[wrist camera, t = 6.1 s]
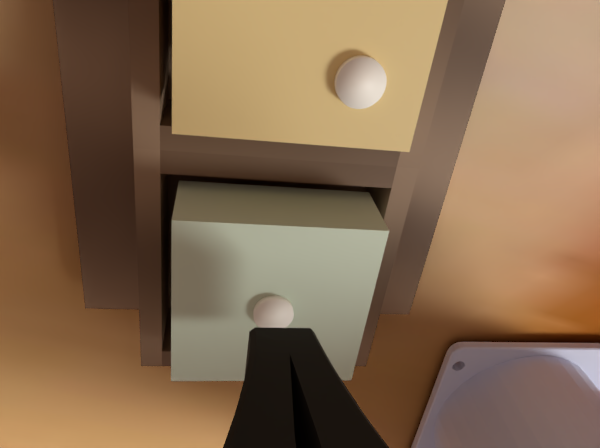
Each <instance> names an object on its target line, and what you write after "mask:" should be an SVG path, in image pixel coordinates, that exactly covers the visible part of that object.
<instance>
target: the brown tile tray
mask: <svg viewBox="0 0 600 448" xmlns="http://www.w3.org/2000/svg"><path fill="white" fill-rule="evenodd" d="M504 4H505V0H448V3H447V7H446V11H445V14H444V18H443V22H442V26H441V30H440V34H439V38H438V42H437V46H436V50H435V54H434V58H433V62H432V65H431V69H430V73H429V77H428V81H427V85H426V89H425V93H424V97H423V101H422V105H421V109H420V113H419V117H418V120H417V124H416V128H415V132H414V136H413V140H412V144H411V148H410V152H401V151H388V150H375V149H362V148H349V147H336V146H323V145H310V144H297V143H284V142H271V141H258V140H245V139H232V138H219V137H207V136H194V135H181V134H172V0H53V6H54V16H55V25H56V34H57V44H58V53H59V63H60V72H61V82H62V91H63V101H64V110H65V120H66V129H67V139H68V148H69V158H70V167H71V177H72V186H73V196H74V205H75V215H76V224H77V234H78V243H79V253H80V262H81V271H82V281H83V290H84V300H85V308H97V309H139V317H140V343H141V366H171V227H172V215H173V210H174V204H175V199H176V194H177V188H178V183H179V181H196V182H212V183H228V184H244V185H260V186H276V187H292V188H308V189H325V190H341V191H357V192H369V193H370V195H371V197H372V199H373V201H374V203H375V205H376V207H377V208H378V210H379V212H380V214H381V216H382V218H383V220H384V222H385V224H386V226H387V227H388V229H389V234H388V238H387V242H386V246H385V250H384V254H383V258H382V262H381V266H380V270H379V274H378V277H377V281H376V285H375V289H374V293H373V297H372V301H371V305H370V309H369V313H368V317H367V321H366V325H365V329H364V332H363V336H362V340H361V344H360V348H359V352H358V356H357V360H356V364H355V366H366V364H367V360H368V356H369V353H370V349H371V345H372V342H373V338H374V334H375V330H376V327H377V323H378V319H379V316H380V314H409V313H410V310H411V306H412V303H413V300H414V297H415V293H416V290H417V287H418V284H419V280H420V277H421V274H422V271H423V267H424V264H425V261H426V258H427V254H428V251H429V248H430V245H431V241H432V238H433V235H434V232H435V228H436V225H437V222H438V218H439V215H440V212H441V209H442V205H443V202H444V199H445V196H446V192H447V189H448V186H449V183H450V179H451V176H452V173H453V170H454V166H455V163H456V160H457V157H458V153H459V150H460V147H461V144H462V140H463V137H464V134H465V131H466V127H467V124H468V121H469V118H470V114H471V111H472V108H473V104H474V101H475V98H476V95H477V91H478V88H479V85H480V82H481V78H482V75H483V72H484V69H485V65H486V62H487V59H488V56H489V52H490V49H491V46H492V43H493V39H494V36H495V33H496V30H497V26H498V23H499V20H500V17H501V13H502V10H503V7H504Z"/></svg>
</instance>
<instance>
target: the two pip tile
mask: <svg viewBox="0 0 600 448" xmlns="http://www.w3.org/2000/svg"><path fill="white" fill-rule="evenodd" d="M447 3H448V0H172V134H181V135H194V136H207V137H219V138H232V139H245V140H258V141H271V142H284V143H297V144H310V145H323V146H336V147H349V148H362V149H375V150H388V151H401V152H410V148H411V144H412V140H413V136H414V132H415V128H416V124H417V120H418V117H419V113H420V109H421V105H422V101H423V97H424V93H425V89H426V85H427V81H428V77H429V73H430V69H431V65H432V62H433V58H434V54H435V50H436V46H437V42H438V38H439V34H440V30H441V26H442V22H443V18H444V14H445V11H446V7H447Z"/></svg>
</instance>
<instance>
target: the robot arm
mask: <svg viewBox="0 0 600 448" xmlns="http://www.w3.org/2000/svg"><path fill="white" fill-rule="evenodd" d="M456 362H457V363H456ZM223 448H389V447H388V446H387V445H386V443H385V442H384V441H383V439H382V438H381V437H380V435H379V434H378V433H377V431H376V430H375V429H374V427H373V426H372V425H371V423H370V422H369V420H368V419H367V418H366V416H365V415H364V413H363V412H362V410H361V409H360V407H359V406H358V404H357V403H356V401H355V400H354V398H353V397H352V395H351V394H350V392H349V391H348V389H347V388H346V386H345V385H344V383H343V382H342V380H341V378H340V377H339V375H338V374H337V372H336V370H335V369H334V367H333V365H332V364H331V362H330V360H329V358H328V357H327V355H326V353H325V351H324V350H323V348H322V346H321V344H320V342H319V340H318V338H317V337H316V335H315V333H314V331H313V330H312V329H311V328H260V327H255V328H254V329H252V330H251V331H249V340H248V349H247V359H246V368H245V378H244V383H243V387H242V391H241V394H240V398H239V402H238V406H237V409H236V412H235V415H234V418H233V421H232V424H231V427H230V430H229V432H228V435H227V438H226V441H225V444H224V447H223ZM411 448H600V343H548V342H457V343H455V344H453V345H451V346H450V347H449V349H448V350H447V353H446V355H445V358H444V361H443V363H442V366H441V369H440V371H439V374H438V377H437V379H436V382H435V385H434V388H433V390H432V393H431V396H430V398H429V401H428V404H427V406H426V409H425V412H424V414H423V417H422V420H421V422H420V425H419V428H418V430H417V433H416V436H415V438H414V441H413V444H412V447H411Z"/></svg>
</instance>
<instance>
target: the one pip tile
mask: <svg viewBox="0 0 600 448" xmlns="http://www.w3.org/2000/svg"><path fill="white" fill-rule="evenodd" d="M388 234H389V229H388V227H387V226H386V224H385V222H384V220H383V218H382V216H381V214H380V212H379V210H378V208H377V207H376V205H375V203H374V201H373V199H372V197H371V195H370V193H369V192H357V191H341V190H325V189H308V188H292V187H276V186H260V185H244V184H228V183H212V182H196V181H179V183H178V188H177V194H176V199H175V204H174V210H173V215H172V227H171V381H244V378H245V368H246V359H247V349H248V340H249V331H251V330H252V329H254V328H255V327H260V328H311V329H312V330H313V331H314V333H315V335H316V337H317V338H318V340H319V342H320V344H321V346H322V348H323V350H324V351H325V353H326V355H327V357H328V358H329V360H330V362H331V364H332V365H333V367H334V369H335V370H336V372H337V374H338V375H339V377H340V378H341V380H352V376H353V372H354V368H355V364H356V360H357V356H358V352H359V348H360V344H361V340H362V336H363V332H364V329H365V325H366V321H367V317H368V313H369V309H370V305H371V301H372V297H373V293H374V289H375V285H376V281H377V277H378V274H379V270H380V266H381V262H382V258H383V254H384V250H385V246H386V242H387V238H388Z"/></svg>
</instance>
